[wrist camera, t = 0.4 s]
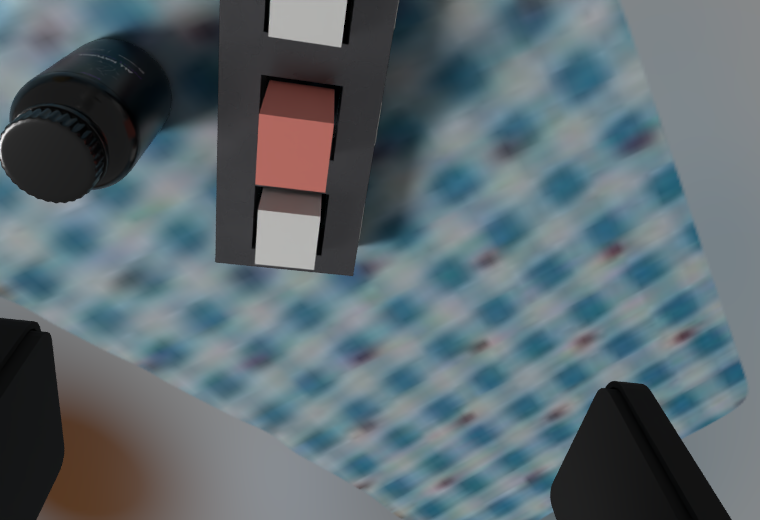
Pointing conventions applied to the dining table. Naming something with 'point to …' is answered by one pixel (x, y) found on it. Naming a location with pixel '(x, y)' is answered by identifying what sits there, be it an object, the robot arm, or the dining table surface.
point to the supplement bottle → (84, 121)
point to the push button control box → (352, 132)
